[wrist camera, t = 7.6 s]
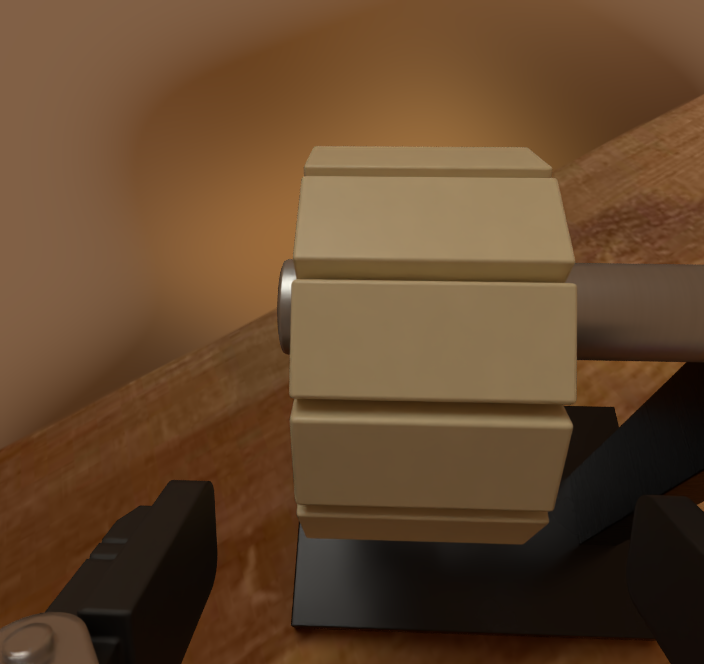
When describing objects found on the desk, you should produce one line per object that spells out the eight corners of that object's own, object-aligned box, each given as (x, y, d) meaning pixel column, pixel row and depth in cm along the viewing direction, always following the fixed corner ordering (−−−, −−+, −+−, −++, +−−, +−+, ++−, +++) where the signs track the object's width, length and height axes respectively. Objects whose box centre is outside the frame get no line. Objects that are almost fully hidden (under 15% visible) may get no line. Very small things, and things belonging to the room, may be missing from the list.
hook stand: (293, 628, 24) (143, 530, 8) (310, 409, 29) (241, 74, 13) (654, 640, 23) (1312, 564, 7) (605, 416, 29) (923, 75, 12)
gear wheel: (316, 565, 14) (269, 455, 7) (332, 296, 19) (313, 63, 12) (493, 570, 14) (622, 464, 7) (468, 298, 19) (532, 64, 12)
